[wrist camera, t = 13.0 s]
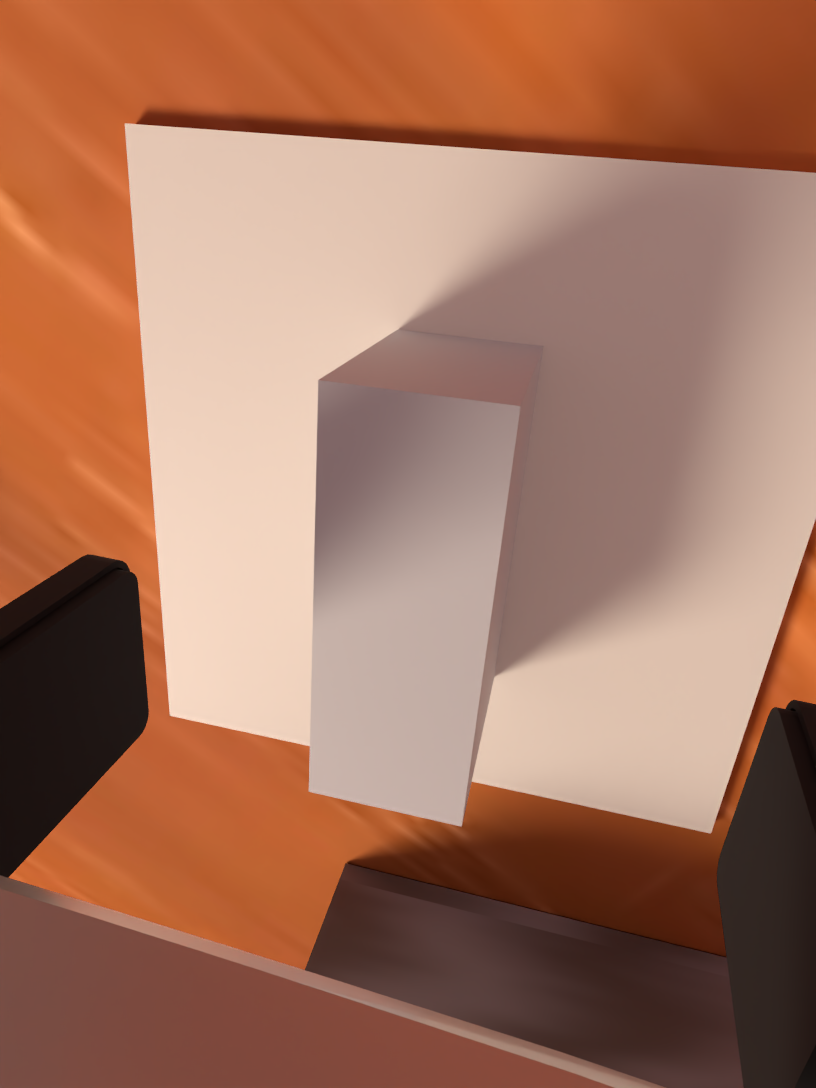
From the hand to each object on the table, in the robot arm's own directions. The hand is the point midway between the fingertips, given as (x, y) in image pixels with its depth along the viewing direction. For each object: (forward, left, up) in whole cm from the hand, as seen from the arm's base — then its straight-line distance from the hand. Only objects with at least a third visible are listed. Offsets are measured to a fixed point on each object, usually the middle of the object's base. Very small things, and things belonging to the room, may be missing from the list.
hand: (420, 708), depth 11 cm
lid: (+1, 0, -8) cm, 8 cm away
